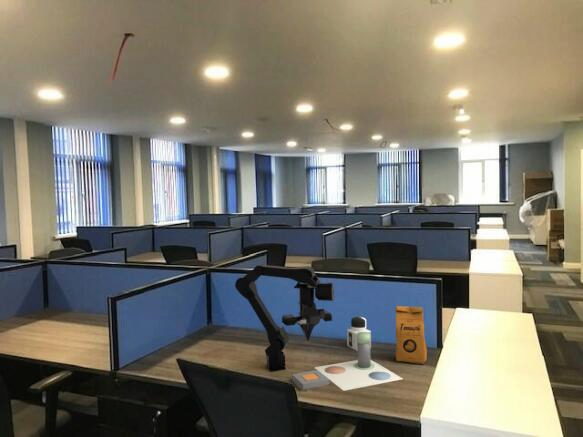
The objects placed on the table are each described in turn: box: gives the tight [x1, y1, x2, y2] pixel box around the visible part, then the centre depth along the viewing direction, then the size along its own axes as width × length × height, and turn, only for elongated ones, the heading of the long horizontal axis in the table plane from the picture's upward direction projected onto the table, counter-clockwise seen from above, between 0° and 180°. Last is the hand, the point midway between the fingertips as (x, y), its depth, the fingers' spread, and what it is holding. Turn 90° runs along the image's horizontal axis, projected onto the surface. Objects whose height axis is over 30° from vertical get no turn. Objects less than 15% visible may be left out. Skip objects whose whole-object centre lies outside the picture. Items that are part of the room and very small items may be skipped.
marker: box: [356, 332, 372, 368], centre depth 183 cm, size 5×5×12 cm
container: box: [346, 316, 372, 351], centre depth 209 cm, size 8×8×13 cm
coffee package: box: [395, 305, 428, 365], centre depth 190 cm, size 10×12×22 cm
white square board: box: [314, 359, 404, 392], centre depth 177 cm, size 24×24×1 cm
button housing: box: [291, 369, 330, 392], centre depth 170 cm, size 10×10×2 cm
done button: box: [301, 373, 320, 381], centre depth 170 cm, size 5×5×2 cm
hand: (307, 340), depth 182 cm, fingers closed
